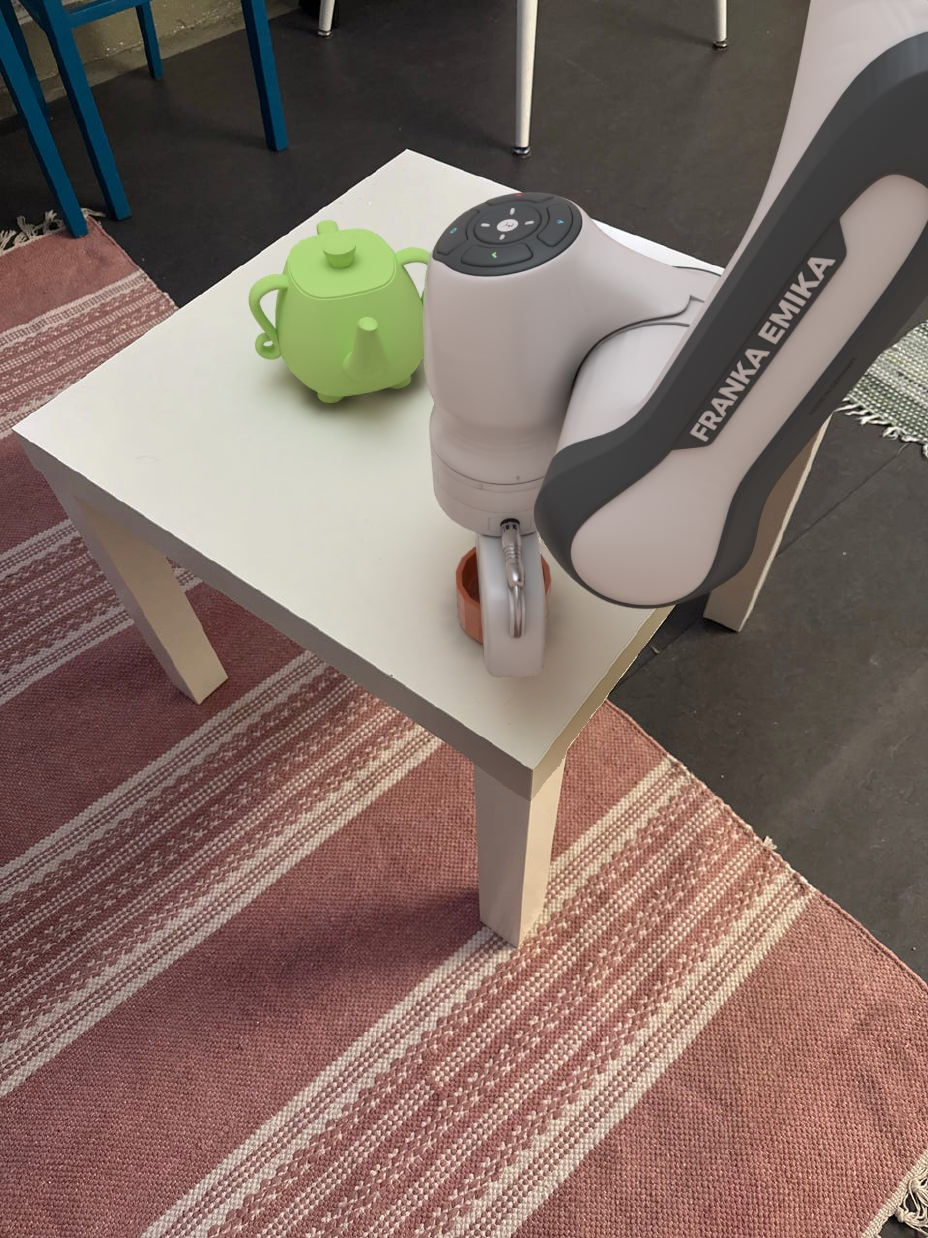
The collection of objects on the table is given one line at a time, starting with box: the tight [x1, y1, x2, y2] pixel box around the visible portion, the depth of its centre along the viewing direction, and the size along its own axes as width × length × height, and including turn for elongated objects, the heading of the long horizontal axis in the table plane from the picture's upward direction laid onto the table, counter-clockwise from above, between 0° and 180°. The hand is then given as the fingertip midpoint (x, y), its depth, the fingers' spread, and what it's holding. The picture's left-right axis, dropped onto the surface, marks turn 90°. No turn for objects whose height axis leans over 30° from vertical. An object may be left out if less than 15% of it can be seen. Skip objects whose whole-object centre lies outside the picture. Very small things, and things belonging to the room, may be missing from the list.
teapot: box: [248, 219, 431, 404], centre depth 80 cm, size 16×14×13 cm
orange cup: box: [455, 545, 552, 644], centre depth 67 cm, size 7×7×5 cm
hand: (502, 598), depth 67 cm, fingers closed on orange cup, 7 cm apart
